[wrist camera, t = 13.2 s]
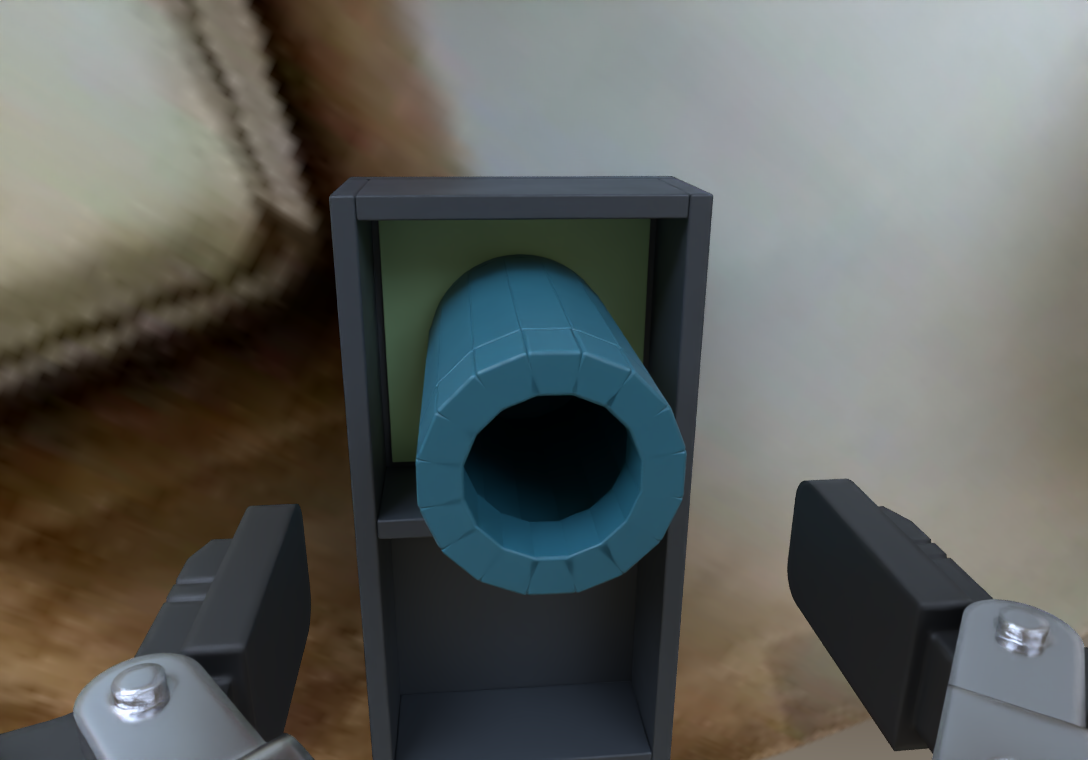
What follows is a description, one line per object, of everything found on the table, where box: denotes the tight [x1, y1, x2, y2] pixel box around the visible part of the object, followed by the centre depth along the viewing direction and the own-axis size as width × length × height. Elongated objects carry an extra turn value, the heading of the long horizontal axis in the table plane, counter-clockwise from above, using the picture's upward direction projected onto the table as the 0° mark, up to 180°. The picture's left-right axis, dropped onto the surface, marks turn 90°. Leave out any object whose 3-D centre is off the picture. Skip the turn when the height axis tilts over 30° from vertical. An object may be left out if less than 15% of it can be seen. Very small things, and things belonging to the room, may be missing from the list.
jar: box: [416, 254, 687, 595], centre depth 20 cm, size 5×5×9 cm
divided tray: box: [329, 176, 713, 760], centre depth 25 cm, size 9×18×4 cm, turn 0°
